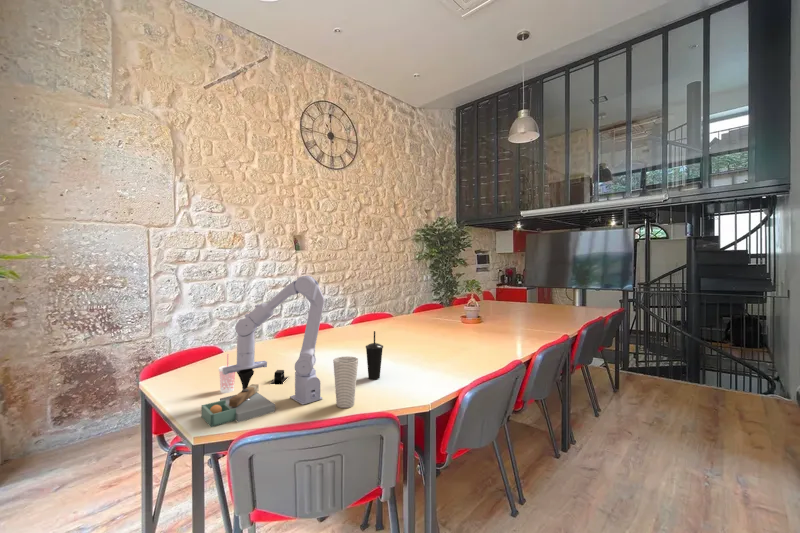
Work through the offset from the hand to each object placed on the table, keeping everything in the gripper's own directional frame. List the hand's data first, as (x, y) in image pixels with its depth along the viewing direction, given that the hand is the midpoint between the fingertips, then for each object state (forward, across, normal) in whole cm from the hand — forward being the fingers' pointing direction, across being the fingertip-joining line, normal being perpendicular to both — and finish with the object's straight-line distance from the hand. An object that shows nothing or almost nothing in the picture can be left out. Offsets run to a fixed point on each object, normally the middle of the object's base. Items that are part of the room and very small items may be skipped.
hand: (244, 390), depth 120 cm
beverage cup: (+4, +1, -15) cm, 15 cm away
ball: (+1, +12, +8) cm, 14 cm away
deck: (+3, +2, +7) cm, 8 cm away
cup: (+3, -24, +27) cm, 36 cm away
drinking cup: (+3, -50, +11) cm, 51 cm away
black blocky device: (+4, -18, -13) cm, 23 cm away
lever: (+1, +2, +5) cm, 6 cm away
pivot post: (+3, +2, +5) cm, 6 cm away
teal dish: (+3, +11, +9) cm, 15 cm away
